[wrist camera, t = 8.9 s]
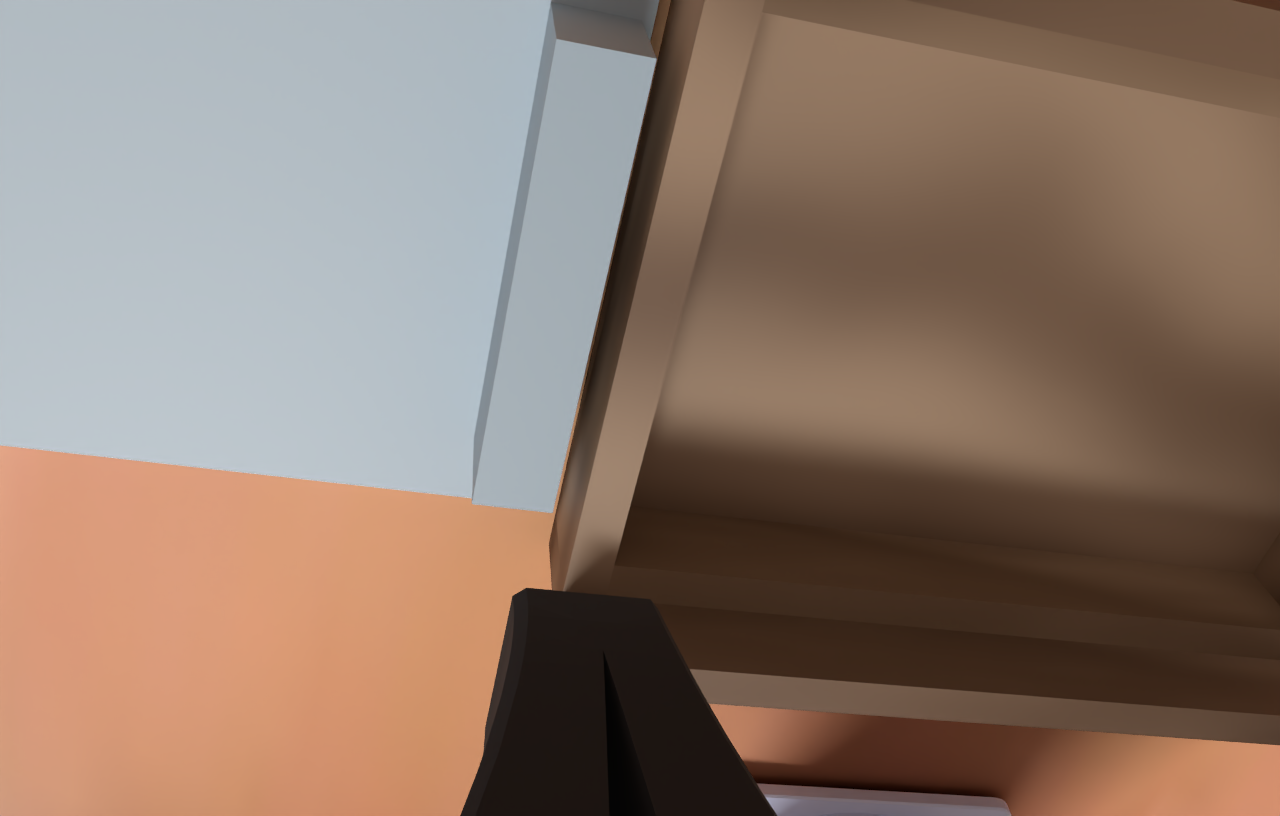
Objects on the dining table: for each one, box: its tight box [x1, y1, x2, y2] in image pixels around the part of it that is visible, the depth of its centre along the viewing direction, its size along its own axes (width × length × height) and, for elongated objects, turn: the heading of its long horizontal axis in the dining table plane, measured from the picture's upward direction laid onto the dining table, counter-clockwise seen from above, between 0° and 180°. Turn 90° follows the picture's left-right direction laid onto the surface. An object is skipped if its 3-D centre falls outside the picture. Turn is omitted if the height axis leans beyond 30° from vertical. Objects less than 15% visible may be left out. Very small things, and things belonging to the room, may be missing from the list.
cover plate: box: [0, 0, 659, 513], centre depth 17 cm, size 11×15×3 cm
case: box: [549, 0, 1280, 745], centre depth 20 cm, size 13×16×4 cm
